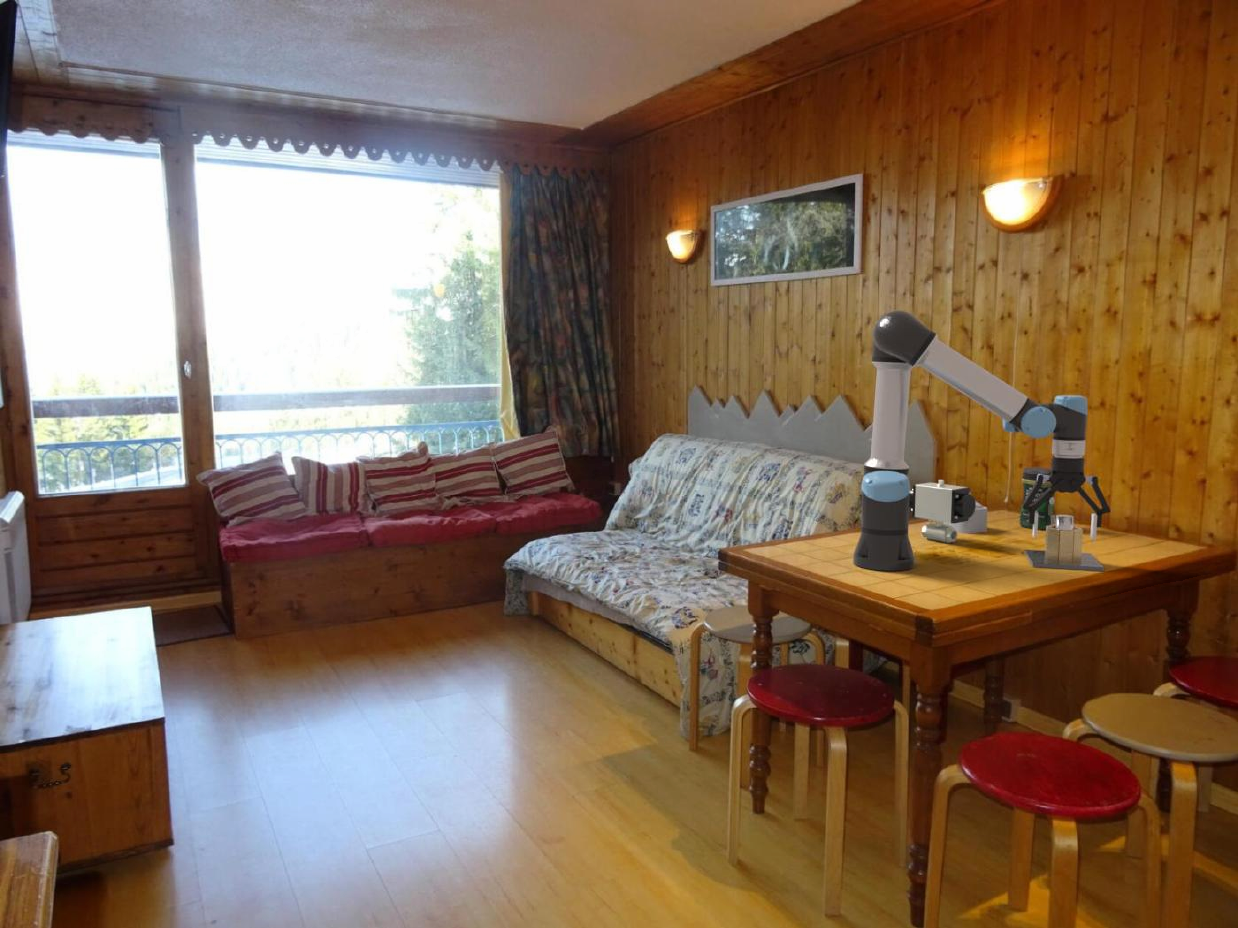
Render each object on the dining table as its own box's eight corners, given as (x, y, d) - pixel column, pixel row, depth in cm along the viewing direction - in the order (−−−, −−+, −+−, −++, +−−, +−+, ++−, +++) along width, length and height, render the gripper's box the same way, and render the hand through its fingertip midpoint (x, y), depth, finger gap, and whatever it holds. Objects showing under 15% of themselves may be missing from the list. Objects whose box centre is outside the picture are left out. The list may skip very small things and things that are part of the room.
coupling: (1048, 560, 226) (1049, 529, 225) (1043, 553, 234) (1044, 523, 233) (1082, 562, 224) (1084, 531, 223) (1077, 555, 231) (1078, 525, 230)
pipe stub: (1032, 566, 224) (1035, 520, 222) (1024, 553, 239) (1026, 509, 237) (1103, 571, 219) (1106, 523, 217) (1090, 556, 234) (1093, 512, 233)
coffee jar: (1015, 526, 274) (1018, 467, 272) (1027, 523, 280) (1030, 465, 277) (1047, 531, 267) (1050, 470, 265) (1058, 527, 272) (1061, 468, 270)
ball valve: (977, 543, 251) (980, 481, 249) (960, 548, 246) (962, 484, 244) (922, 533, 265) (924, 475, 263) (904, 537, 260) (906, 477, 258)
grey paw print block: (965, 534, 265) (966, 505, 263) (933, 526, 276) (934, 499, 275) (991, 531, 269) (992, 503, 268) (959, 523, 280) (960, 496, 279)
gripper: (1016, 456, 226) (1012, 538, 228) (1126, 459, 218) (1121, 543, 221) (1013, 453, 233) (1009, 532, 236) (1119, 455, 225) (1114, 537, 228)
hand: (1063, 538), depth 228 cm, fingers open, 13 cm apart
